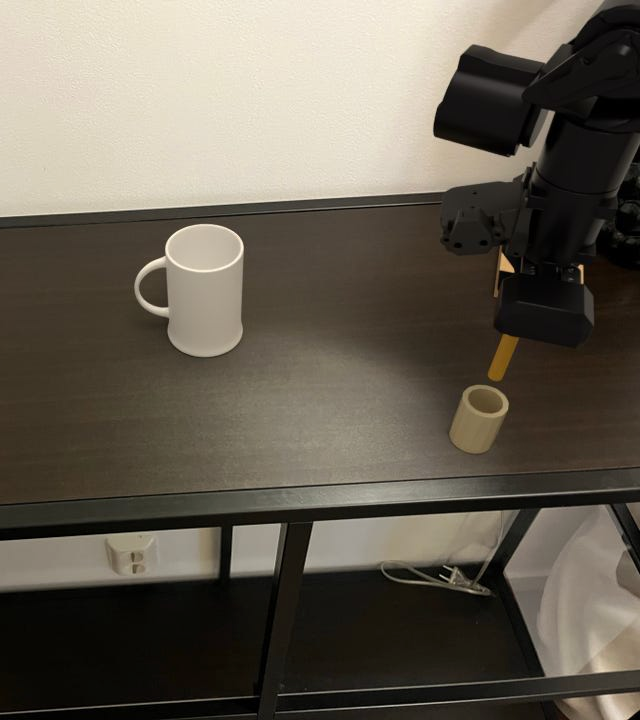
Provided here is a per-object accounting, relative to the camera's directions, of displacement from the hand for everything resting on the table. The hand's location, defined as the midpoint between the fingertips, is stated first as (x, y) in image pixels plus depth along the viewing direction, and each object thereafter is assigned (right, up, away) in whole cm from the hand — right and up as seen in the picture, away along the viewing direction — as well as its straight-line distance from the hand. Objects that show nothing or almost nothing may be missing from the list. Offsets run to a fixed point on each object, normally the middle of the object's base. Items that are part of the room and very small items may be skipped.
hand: (514, 329), depth 65 cm
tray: (+14, +7, +24) cm, 29 cm away
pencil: (0, -4, +4) cm, 6 cm away
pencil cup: (0, -10, +8) cm, 13 cm away
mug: (-27, 0, +21) cm, 34 cm away
